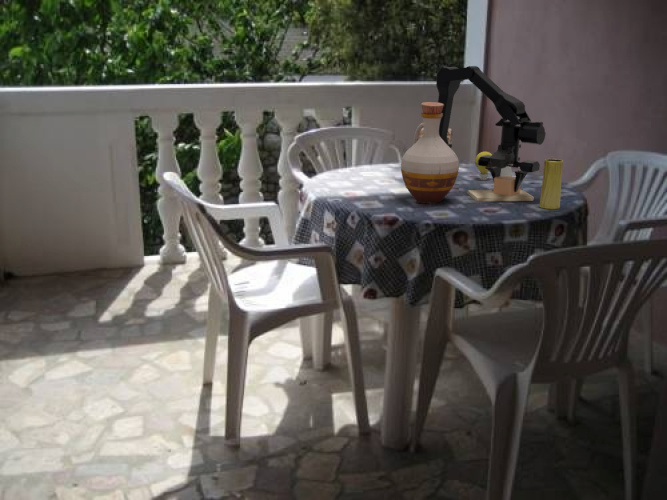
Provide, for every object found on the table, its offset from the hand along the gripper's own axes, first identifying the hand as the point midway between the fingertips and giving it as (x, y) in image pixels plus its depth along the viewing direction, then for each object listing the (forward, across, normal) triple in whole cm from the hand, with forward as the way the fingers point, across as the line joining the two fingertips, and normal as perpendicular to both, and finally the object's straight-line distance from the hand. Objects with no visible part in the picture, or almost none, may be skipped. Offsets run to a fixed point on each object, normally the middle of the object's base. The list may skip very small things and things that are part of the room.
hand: (506, 190), depth 227 cm
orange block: (+1, 0, 0) cm, 1 cm away
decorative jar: (+3, -42, +24) cm, 49 cm away
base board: (+2, -1, -1) cm, 3 cm away
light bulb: (+2, -20, +21) cm, 29 cm away
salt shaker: (+2, -11, +20) cm, 23 cm away
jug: (+2, -17, -20) cm, 26 cm away
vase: (+2, +16, -4) cm, 17 cm away
